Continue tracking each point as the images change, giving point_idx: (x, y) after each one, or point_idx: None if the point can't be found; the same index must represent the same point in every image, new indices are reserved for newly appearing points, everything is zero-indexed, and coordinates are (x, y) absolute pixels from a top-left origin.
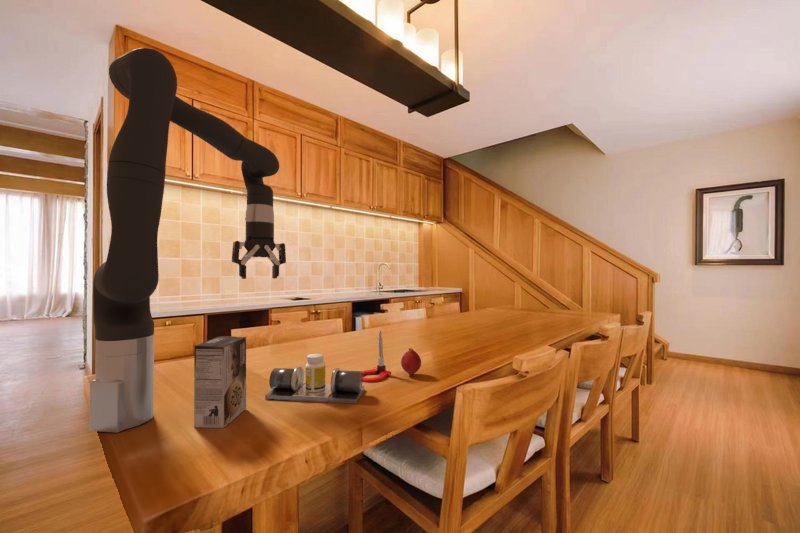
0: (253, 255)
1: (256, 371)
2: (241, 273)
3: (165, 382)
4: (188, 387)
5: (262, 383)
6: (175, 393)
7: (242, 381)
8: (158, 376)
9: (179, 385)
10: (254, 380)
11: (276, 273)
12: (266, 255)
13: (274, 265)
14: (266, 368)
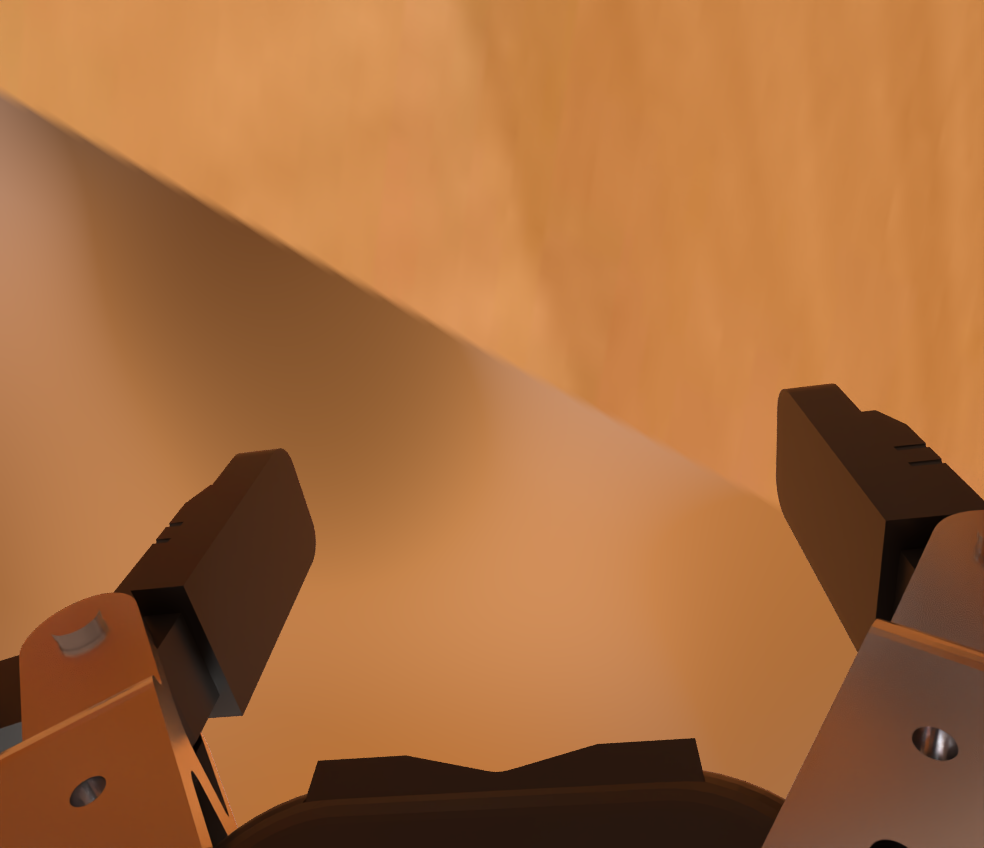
0: (768, 792)
1: (532, 303)
2: (898, 438)
3: (946, 332)
4: (875, 189)
5: (537, 57)
6: (948, 116)
7: None
8: (951, 446)
9: (904, 248)
10: (566, 139)
11: (221, 487)
12: (300, 816)
13: (191, 646)
14: (478, 333)
